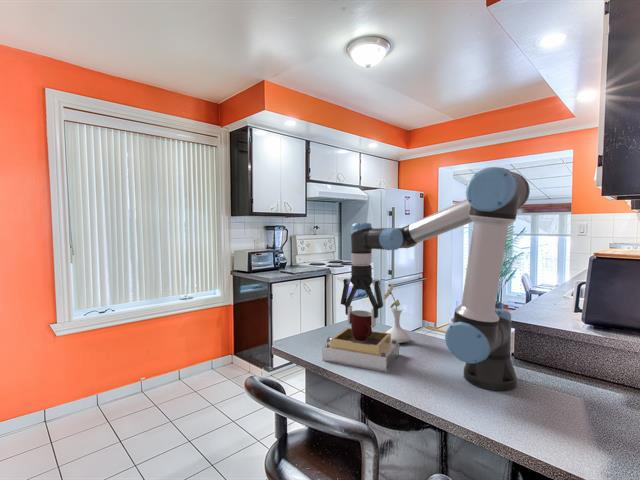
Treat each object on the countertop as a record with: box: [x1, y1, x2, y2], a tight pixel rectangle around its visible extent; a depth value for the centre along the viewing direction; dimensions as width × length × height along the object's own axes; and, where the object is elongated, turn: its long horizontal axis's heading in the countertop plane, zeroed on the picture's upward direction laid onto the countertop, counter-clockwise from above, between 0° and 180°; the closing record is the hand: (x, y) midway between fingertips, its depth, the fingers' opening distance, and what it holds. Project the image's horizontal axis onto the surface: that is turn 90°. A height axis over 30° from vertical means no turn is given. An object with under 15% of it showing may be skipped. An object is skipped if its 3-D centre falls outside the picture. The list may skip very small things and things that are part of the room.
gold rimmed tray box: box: [321, 327, 400, 373], centre depth 129 cm, size 28×18×8 cm, turn 63°
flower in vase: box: [382, 283, 411, 344], centre depth 145 cm, size 13×11×25 cm
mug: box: [350, 310, 373, 341], centre depth 127 cm, size 11×8×10 cm
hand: (361, 324), depth 128 cm, fingers closed on mug, 9 cm apart
